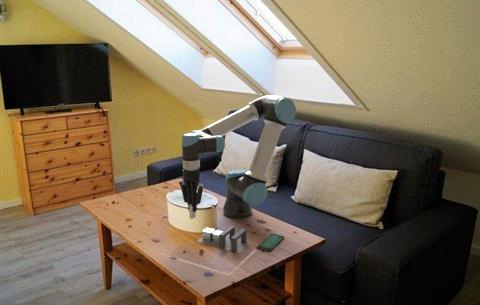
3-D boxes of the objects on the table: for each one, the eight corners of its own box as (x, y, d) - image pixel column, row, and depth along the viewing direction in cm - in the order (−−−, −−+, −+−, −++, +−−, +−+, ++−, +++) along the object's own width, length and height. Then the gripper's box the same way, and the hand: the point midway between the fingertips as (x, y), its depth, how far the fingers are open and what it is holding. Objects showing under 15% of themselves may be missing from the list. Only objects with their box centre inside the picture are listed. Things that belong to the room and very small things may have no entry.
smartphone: (255, 246, 171) (270, 232, 184) (255, 249, 171) (270, 235, 184) (270, 250, 168) (285, 236, 180) (270, 253, 168) (285, 238, 180)
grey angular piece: (209, 233, 185) (208, 220, 183) (250, 244, 174) (250, 230, 172) (196, 242, 176) (196, 228, 175) (239, 254, 166) (239, 239, 164)
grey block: (202, 239, 178) (202, 230, 177) (207, 235, 182) (207, 227, 181) (221, 244, 173) (220, 235, 172) (225, 240, 177) (225, 232, 176)
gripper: (174, 168, 175) (176, 217, 180) (198, 172, 168) (199, 223, 174) (184, 164, 181) (186, 211, 187) (208, 168, 175) (209, 217, 180)
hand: (192, 217), depth 180 cm, fingers closed
